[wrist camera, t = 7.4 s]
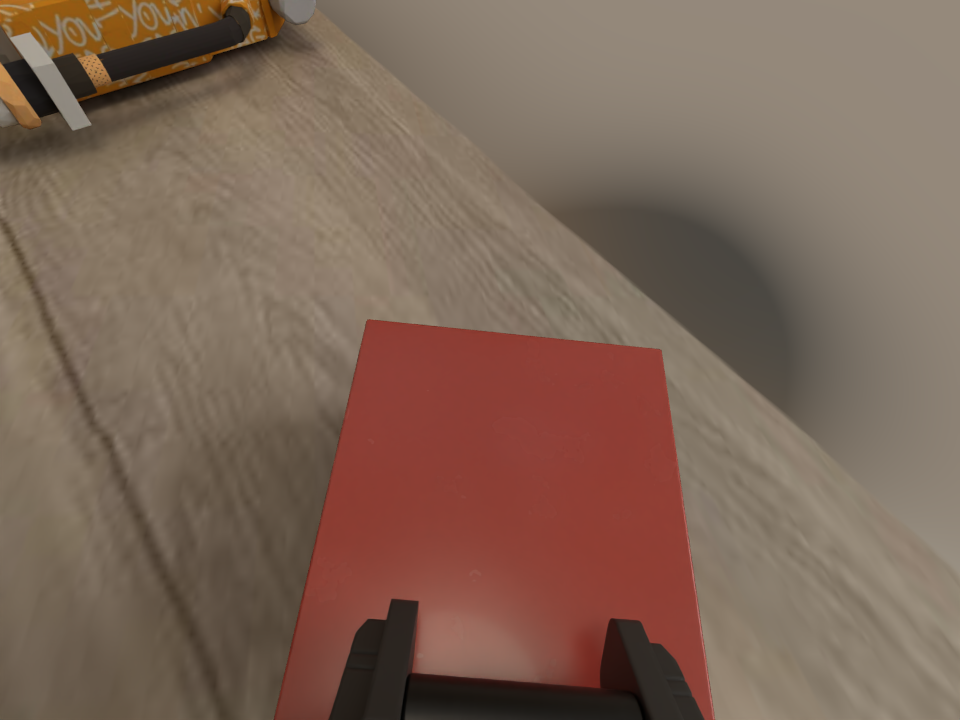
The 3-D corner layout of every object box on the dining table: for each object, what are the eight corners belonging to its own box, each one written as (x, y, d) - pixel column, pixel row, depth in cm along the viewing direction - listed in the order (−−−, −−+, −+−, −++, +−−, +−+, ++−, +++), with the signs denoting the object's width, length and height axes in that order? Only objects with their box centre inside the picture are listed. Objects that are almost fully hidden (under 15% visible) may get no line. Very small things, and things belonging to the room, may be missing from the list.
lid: (718, 828, 14) (854, 898, 9) (262, 795, 13) (179, 851, 9) (655, 359, 22) (712, 276, 17) (368, 329, 21) (352, 237, 17)
